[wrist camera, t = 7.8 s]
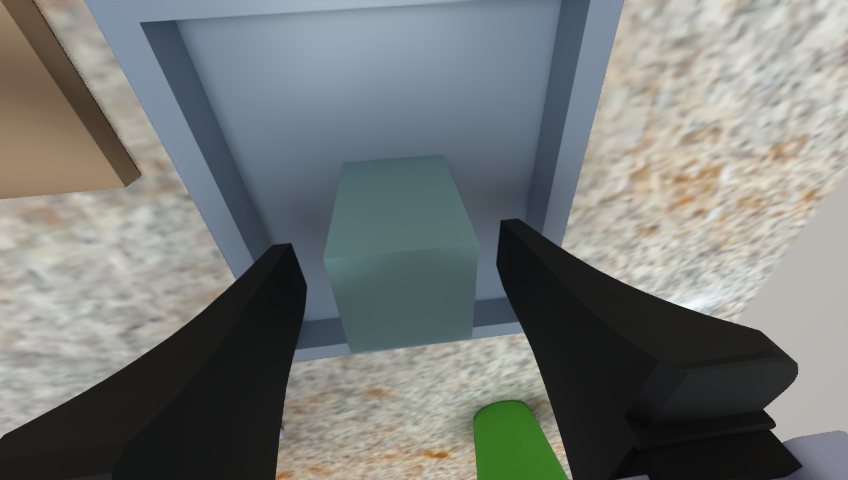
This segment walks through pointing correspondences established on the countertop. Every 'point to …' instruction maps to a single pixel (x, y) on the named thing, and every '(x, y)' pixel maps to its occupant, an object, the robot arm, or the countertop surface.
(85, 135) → the plinth
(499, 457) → the cup
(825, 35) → the countertop surface
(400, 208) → the teal block
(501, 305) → the tray
